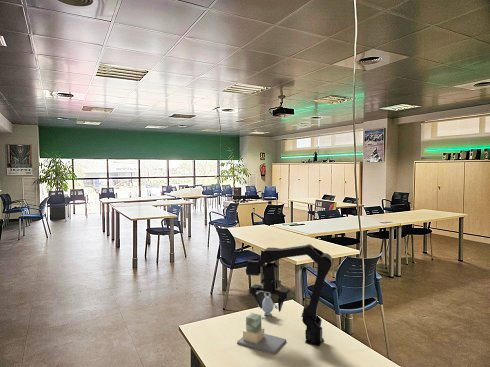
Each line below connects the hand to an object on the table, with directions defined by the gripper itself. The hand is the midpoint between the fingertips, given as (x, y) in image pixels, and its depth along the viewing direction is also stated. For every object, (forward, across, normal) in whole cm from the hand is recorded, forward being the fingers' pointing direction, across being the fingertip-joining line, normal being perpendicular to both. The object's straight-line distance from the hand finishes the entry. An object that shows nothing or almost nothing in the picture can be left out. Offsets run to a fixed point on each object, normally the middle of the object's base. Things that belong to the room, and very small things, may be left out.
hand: (270, 309), depth 154 cm
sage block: (+7, +5, +7) cm, 11 cm away
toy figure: (+12, +11, -19) cm, 25 cm away
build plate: (+12, +1, +7) cm, 14 cm away
